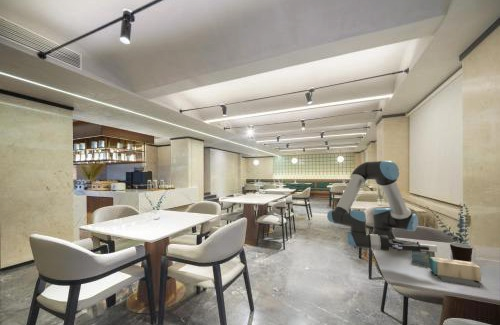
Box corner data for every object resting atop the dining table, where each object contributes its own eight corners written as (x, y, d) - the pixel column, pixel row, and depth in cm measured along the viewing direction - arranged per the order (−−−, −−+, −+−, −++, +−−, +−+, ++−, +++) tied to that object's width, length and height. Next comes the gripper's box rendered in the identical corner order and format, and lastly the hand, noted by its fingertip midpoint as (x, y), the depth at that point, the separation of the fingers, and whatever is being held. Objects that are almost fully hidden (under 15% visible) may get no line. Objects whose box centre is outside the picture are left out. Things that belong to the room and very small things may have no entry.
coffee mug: (469, 269, 105) (467, 248, 106) (447, 262, 113) (446, 243, 113) (480, 265, 110) (478, 245, 110) (458, 259, 117) (457, 241, 118)
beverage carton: (411, 262, 114) (410, 249, 115) (418, 253, 127) (417, 242, 128) (430, 266, 108) (429, 253, 109) (435, 257, 121) (434, 245, 122)
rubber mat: (429, 266, 108) (429, 265, 108) (460, 271, 103) (460, 269, 103) (442, 281, 93) (442, 279, 93) (479, 286, 88) (479, 285, 88)
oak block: (429, 256, 104) (472, 262, 97) (430, 269, 104) (473, 275, 97) (434, 261, 99) (480, 267, 92) (434, 274, 98) (481, 281, 92)
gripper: (377, 245, 116) (431, 252, 106) (381, 253, 104) (442, 261, 94) (377, 232, 116) (431, 237, 106) (381, 238, 104) (441, 244, 95)
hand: (436, 248), depth 100 cm, fingers closed
